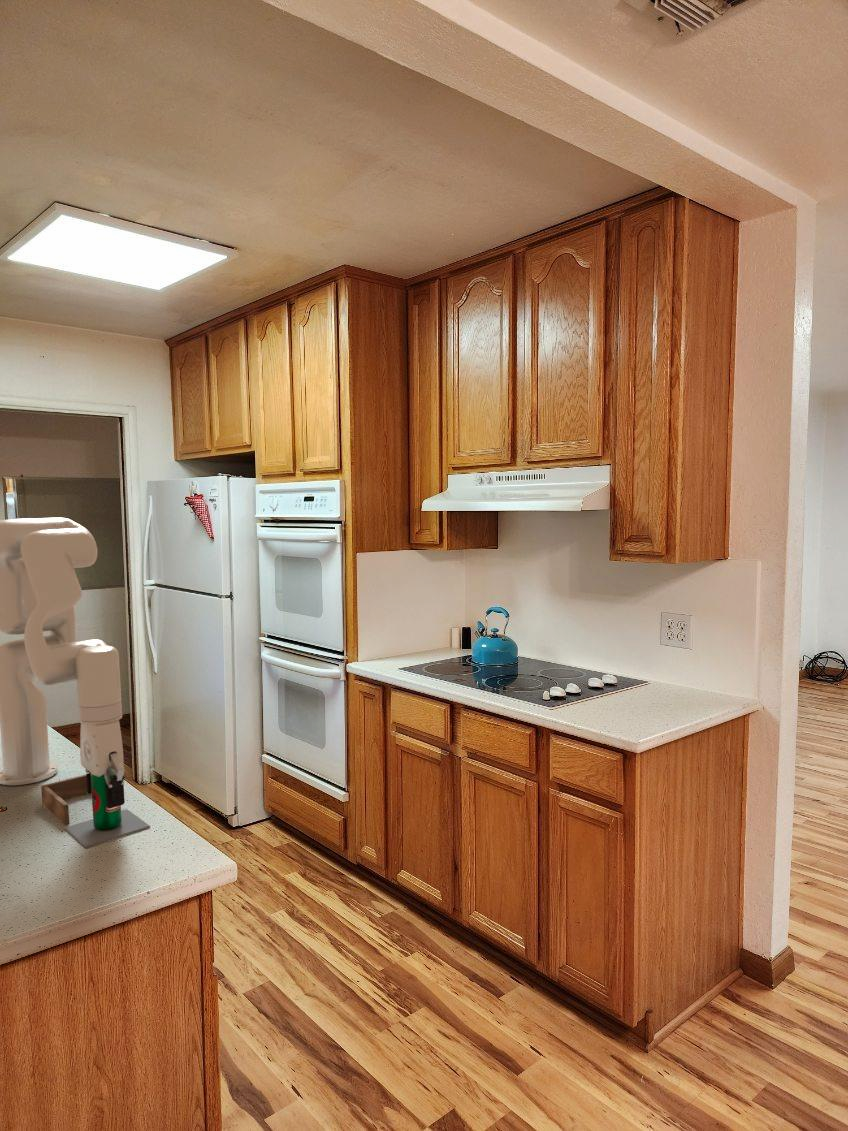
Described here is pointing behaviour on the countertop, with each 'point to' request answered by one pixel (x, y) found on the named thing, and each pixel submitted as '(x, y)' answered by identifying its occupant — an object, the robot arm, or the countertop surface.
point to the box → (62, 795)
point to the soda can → (103, 806)
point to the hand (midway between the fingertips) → (105, 798)
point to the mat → (93, 836)
